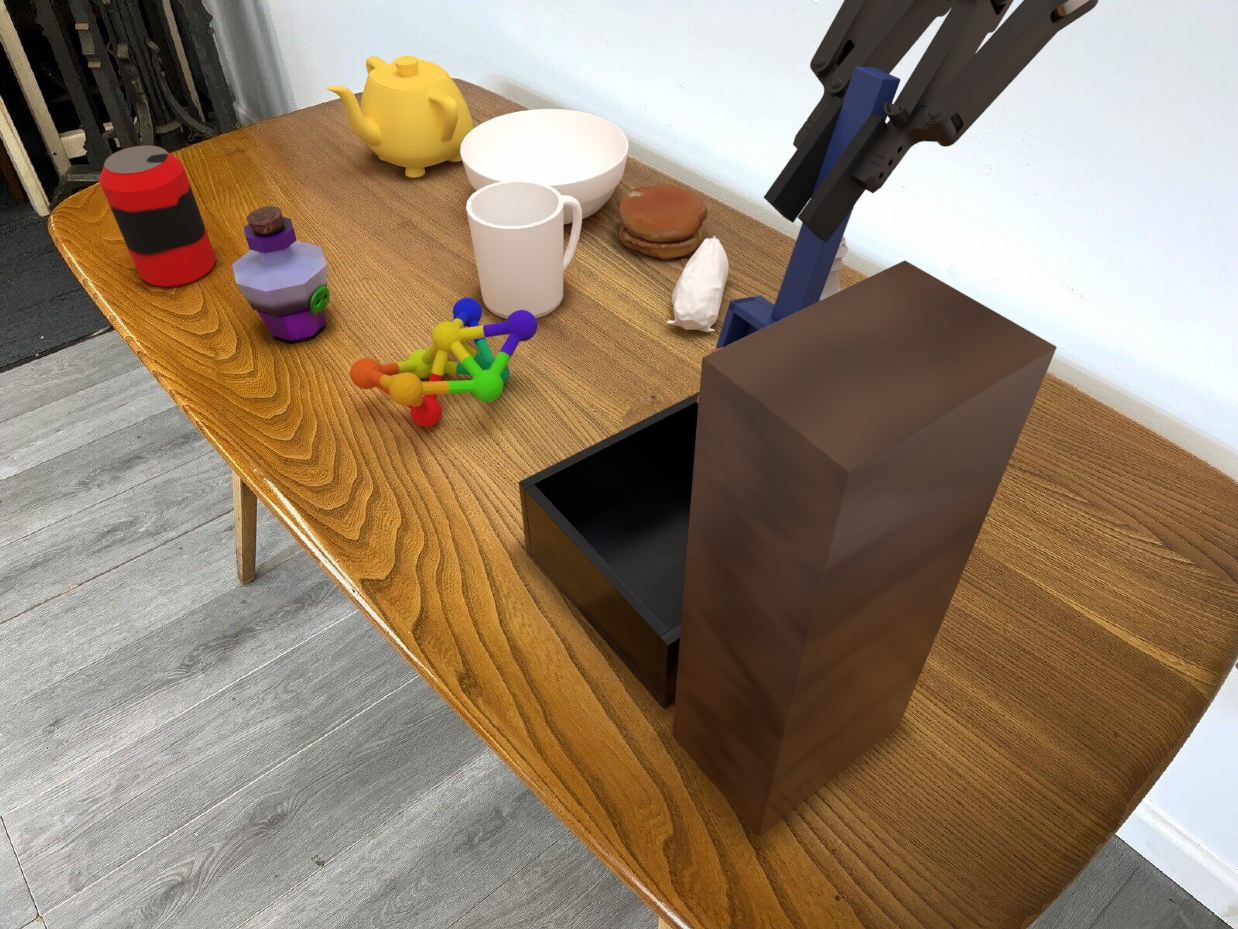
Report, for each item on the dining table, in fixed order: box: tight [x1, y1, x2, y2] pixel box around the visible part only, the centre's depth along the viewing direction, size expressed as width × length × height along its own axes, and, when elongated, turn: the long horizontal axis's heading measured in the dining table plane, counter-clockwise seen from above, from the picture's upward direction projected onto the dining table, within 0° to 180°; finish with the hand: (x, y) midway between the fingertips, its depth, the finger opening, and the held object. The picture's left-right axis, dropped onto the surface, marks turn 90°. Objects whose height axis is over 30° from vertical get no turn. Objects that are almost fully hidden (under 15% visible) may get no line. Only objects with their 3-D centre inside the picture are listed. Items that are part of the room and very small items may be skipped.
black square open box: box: [518, 391, 700, 711], centre depth 65 cm, size 17×17×7 cm
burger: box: [618, 184, 708, 260], centre depth 98 cm, size 10×9×5 cm
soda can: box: [98, 145, 217, 288], centre depth 91 cm, size 8×8×12 cm
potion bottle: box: [231, 205, 331, 345], centre depth 84 cm, size 9×9×12 cm
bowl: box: [460, 108, 630, 225], centre depth 102 cm, size 18×18×7 cm
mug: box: [465, 180, 583, 320], centre depth 88 cm, size 11×9×10 cm
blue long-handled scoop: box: [715, 67, 901, 349], centre depth 55 cm, size 7×22×3 cm
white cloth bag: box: [666, 235, 730, 333], centre depth 89 cm, size 5×7×10 cm
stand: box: [672, 260, 1058, 837], centre depth 47 cm, size 8×12×30 cm, turn 126°
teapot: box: [325, 55, 474, 178], centre depth 109 cm, size 14×14×12 cm
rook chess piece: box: [819, 235, 849, 301], centre depth 87 cm, size 4×4×8 cm
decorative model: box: [349, 297, 538, 428], centre depth 78 cm, size 13×9×15 cm
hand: (795, 219), depth 52 cm, fingers closed on blue long-handled scoop, 2 cm apart
